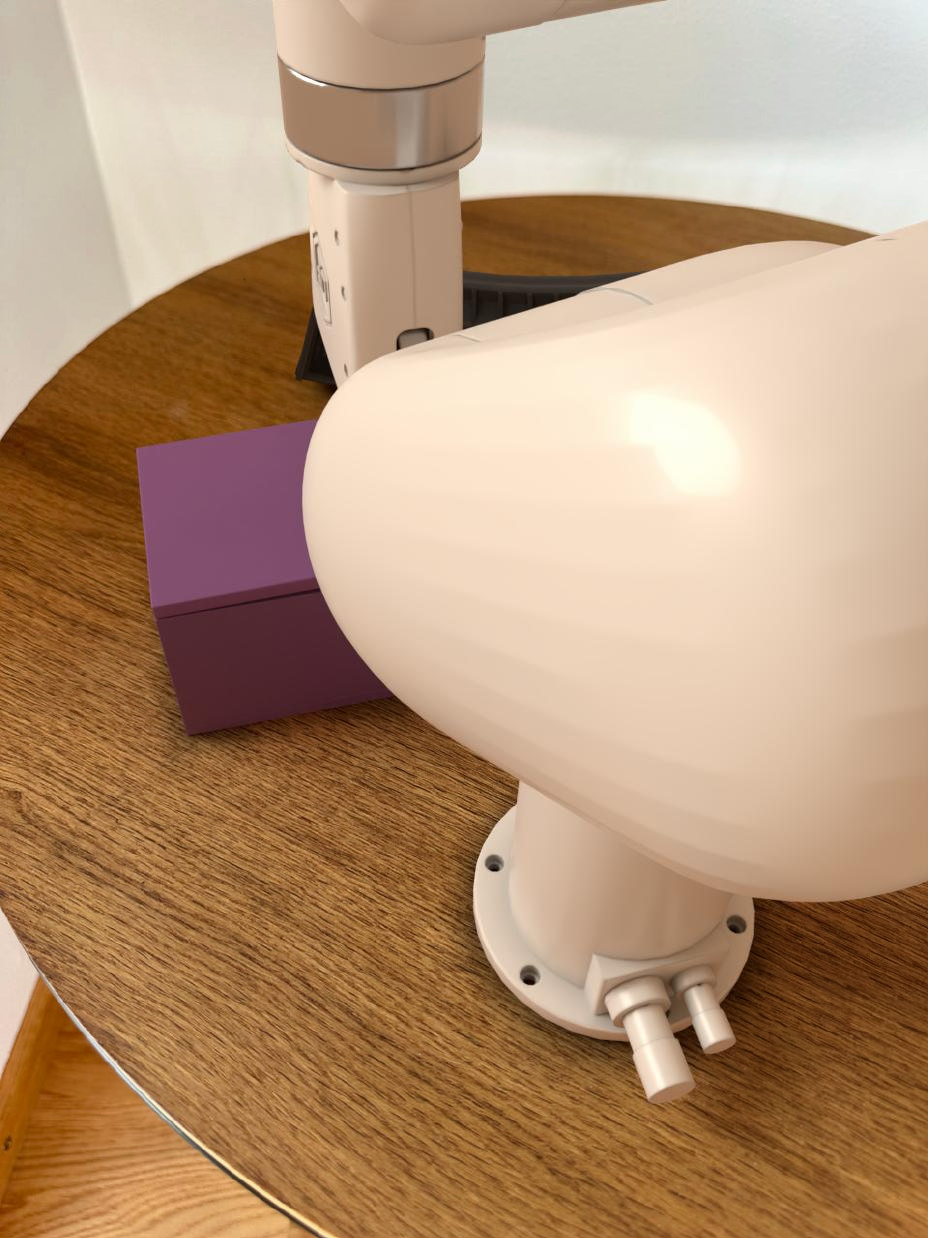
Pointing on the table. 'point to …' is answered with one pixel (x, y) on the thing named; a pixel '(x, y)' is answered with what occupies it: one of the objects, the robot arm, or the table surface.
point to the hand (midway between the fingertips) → (393, 473)
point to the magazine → (471, 308)
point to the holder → (262, 662)
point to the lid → (225, 518)
